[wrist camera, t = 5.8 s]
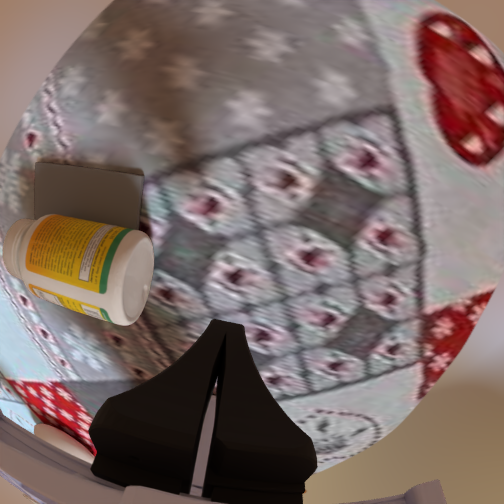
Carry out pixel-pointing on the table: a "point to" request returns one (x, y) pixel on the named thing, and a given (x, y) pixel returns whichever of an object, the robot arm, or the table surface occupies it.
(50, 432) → the flower in vase
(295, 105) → the table surface
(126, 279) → the supplement bottle
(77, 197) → the mat
